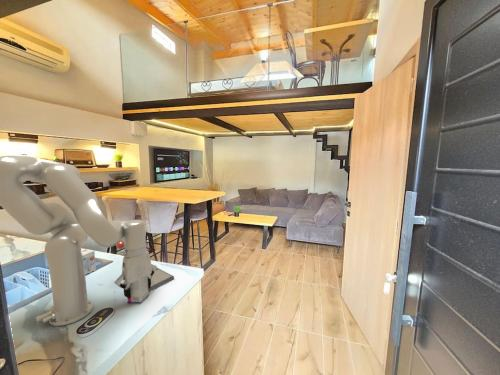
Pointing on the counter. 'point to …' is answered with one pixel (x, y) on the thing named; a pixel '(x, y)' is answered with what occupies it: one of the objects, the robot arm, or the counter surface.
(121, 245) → the press lever
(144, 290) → the supplement box
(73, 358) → the counter surface
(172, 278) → the press bed
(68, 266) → the robot arm
